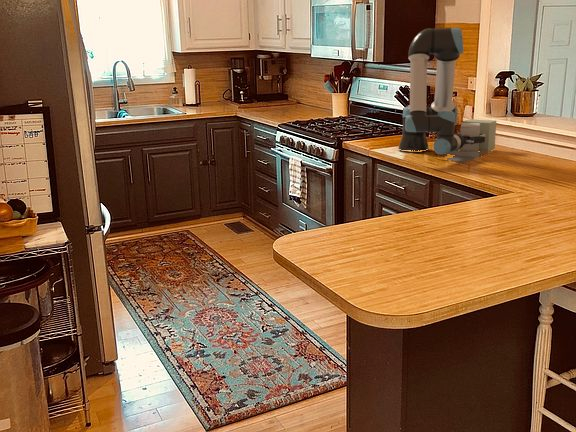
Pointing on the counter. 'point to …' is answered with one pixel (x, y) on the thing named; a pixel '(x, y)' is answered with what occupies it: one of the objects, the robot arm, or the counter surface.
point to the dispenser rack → (490, 131)
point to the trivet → (461, 158)
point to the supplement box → (470, 131)
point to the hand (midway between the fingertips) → (472, 135)
